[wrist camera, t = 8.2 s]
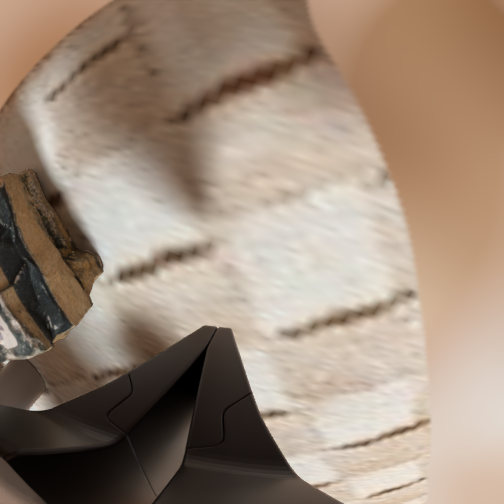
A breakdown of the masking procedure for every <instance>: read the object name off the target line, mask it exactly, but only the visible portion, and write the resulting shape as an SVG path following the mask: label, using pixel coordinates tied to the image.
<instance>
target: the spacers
mask: <svg viewBox="0 0 504 504" xmlns="http://www.w3.org/2000/svg"><path fill="white" fill-rule="evenodd" d="M44 391H45V384H44V381H43V379H42V377H41V376H40V374H39V373H38V371H37V370H36V369H35V368H34V367H33V366H32V365H31V364H30V363H29V362H28V361H27V360H26V359H25V360H23V359H20V360H10V361H9V362H8V363H7V364H6V365H5V366H4V367H3V368H2V369H1V370H0V404H1V405H5V406H10V407H14V408H19V409H24V410H29V409H30V408H31V406H32V405H33V404H34V403H35V402H36V400H37V399H38V398H39V397H40V396H41V394H42V393H43V392H44Z"/></svg>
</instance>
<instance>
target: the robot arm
mask: <svg viewBox="0 0 504 504" xmlns="http://www.w3.org/2000/svg"><path fill="white" fill-rule="evenodd" d="M0 504H344V503H342V502H340V501H338V500H336V499H334V498H333V497H331V496H329V495H327V494H326V493H324V492H322V491H320V490H319V489H317V488H315V487H314V486H312V485H310V484H309V483H307V482H305V481H304V480H302V479H301V478H300V477H299V476H298V475H297V474H296V473H295V472H294V470H293V469H292V468H291V466H290V465H289V463H288V462H287V460H286V459H285V457H284V455H283V454H282V452H281V450H280V449H279V447H278V445H277V444H276V442H275V440H274V439H273V437H272V435H271V434H270V432H269V430H268V428H267V427H266V425H265V423H264V421H263V419H262V417H261V414H260V412H259V409H258V407H257V404H256V402H255V399H254V396H253V393H252V390H251V387H250V384H249V381H248V378H247V375H246V372H245V369H244V366H243V363H242V360H241V357H240V354H239V351H238V347H237V344H236V341H235V338H234V335H233V332H232V329H231V328H223V327H219V328H217V327H215V326H206V325H205V326H202V327H201V328H199V329H198V330H196V331H195V332H193V333H191V334H190V335H188V336H187V337H185V338H183V339H182V340H180V341H179V342H177V343H175V344H174V345H172V346H170V347H169V348H167V349H166V350H164V351H162V352H161V353H159V354H157V355H156V356H154V357H152V358H151V359H149V360H147V361H146V362H144V363H142V364H141V365H139V366H137V367H136V368H134V369H132V370H131V371H129V372H128V373H126V374H124V375H122V376H120V377H119V378H117V379H115V380H113V381H112V382H110V383H108V384H106V385H104V386H102V387H100V388H98V389H96V390H94V391H92V392H90V393H87V394H85V395H83V396H80V397H78V398H76V399H74V400H71V401H69V402H67V403H64V404H62V405H59V406H57V407H54V408H52V409H48V410H43V411H30V410H24V409H19V408H14V407H10V406H5V405H1V404H0Z"/></svg>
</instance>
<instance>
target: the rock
mask: <svg viewBox="0 0 504 504" xmlns="http://www.w3.org/2000/svg"><path fill="white" fill-rule="evenodd" d="M102 273H103V267H102V263H101V260H100V258H99V256H98V255H96V254H94V253H92V252H90V251H88V250H82V251H80V250H79V249H78V248H77V247H76V245H75V243H74V242H73V240H72V239H71V237H70V235H69V232H68V230H67V229H65V228H64V227H63V225H62V223H61V220H60V217H59V216H58V215H57V214H56V212H55V210H54V209H53V207H52V206H51V205H50V204H49V202H48V201H47V200H46V198H45V196H44V194H43V191H42V189H41V187H40V183H39V181H38V179H37V177H36V174H35V172H34V171H33V170H32V169H29V168H28V169H26V170H25V171H24V172H22V173H21V174H19V175H17V174H10V173H9V174H7V175H4V176H1V177H0V362H4V361H6V360H20V359H23V360H25V359H30V358H32V357H35V356H37V355H39V354H42V353H44V352H46V351H49V350H51V348H52V347H54V345H53V343H54V342H56V341H57V340H60V339H63V338H65V337H67V335H68V333H69V331H70V329H72V328H74V327H75V326H77V325H78V323H79V322H80V321H81V320H82V318H83V317H84V315H85V314H86V313H87V311H88V310H89V309H90V308H91V307H92V305H93V303H92V301H91V298H90V296H89V295H90V292H91V289H92V286H93V283H94V282H95V280H96V279H97V278H98V277H99V276H100V275H101V274H102Z"/></svg>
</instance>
